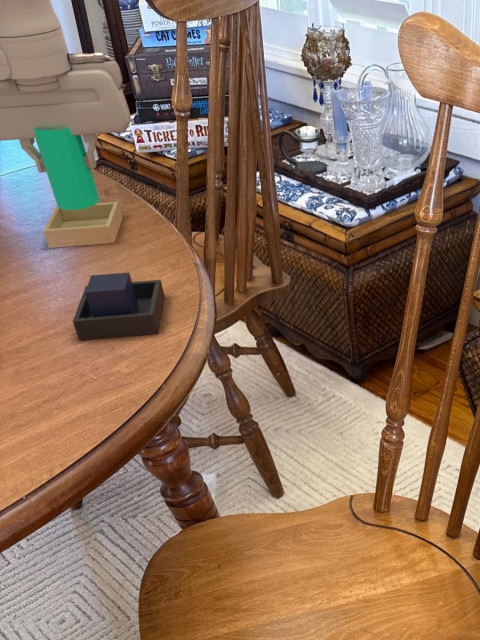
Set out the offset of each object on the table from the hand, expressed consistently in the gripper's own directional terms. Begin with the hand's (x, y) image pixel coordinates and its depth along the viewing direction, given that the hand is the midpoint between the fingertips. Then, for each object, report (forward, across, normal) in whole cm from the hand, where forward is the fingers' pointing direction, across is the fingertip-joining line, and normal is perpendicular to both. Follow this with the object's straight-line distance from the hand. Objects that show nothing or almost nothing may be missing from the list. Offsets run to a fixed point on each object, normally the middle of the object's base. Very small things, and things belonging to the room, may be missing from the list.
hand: (67, 169), depth 109 cm
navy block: (+8, -8, +28) cm, 31 cm away
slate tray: (+9, -9, +28) cm, 31 cm away
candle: (+5, 0, 0) cm, 5 cm away
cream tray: (+9, 0, 0) cm, 9 cm away
